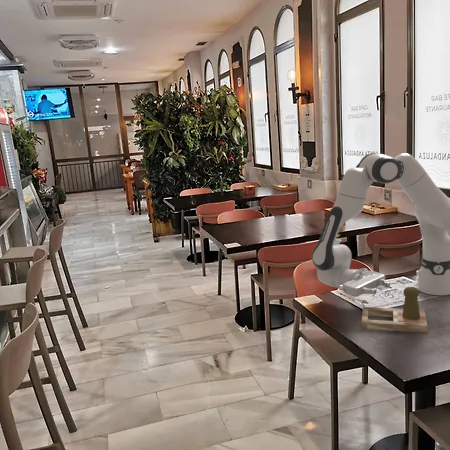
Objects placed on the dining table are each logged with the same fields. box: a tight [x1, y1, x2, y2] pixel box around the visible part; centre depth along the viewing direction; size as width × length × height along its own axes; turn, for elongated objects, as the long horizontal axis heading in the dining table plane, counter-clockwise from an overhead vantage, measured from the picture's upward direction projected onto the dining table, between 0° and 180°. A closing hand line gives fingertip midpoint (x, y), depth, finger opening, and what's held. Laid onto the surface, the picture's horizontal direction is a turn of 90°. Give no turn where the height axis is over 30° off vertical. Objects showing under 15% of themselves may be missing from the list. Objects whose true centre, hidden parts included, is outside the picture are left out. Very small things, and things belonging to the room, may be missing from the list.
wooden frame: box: [361, 306, 428, 334], centre depth 168 cm, size 14×22×3 cm, turn 71°
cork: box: [402, 286, 420, 320], centre depth 164 cm, size 6×6×11 cm
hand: (382, 288), depth 172 cm, fingers open, 8 cm apart
